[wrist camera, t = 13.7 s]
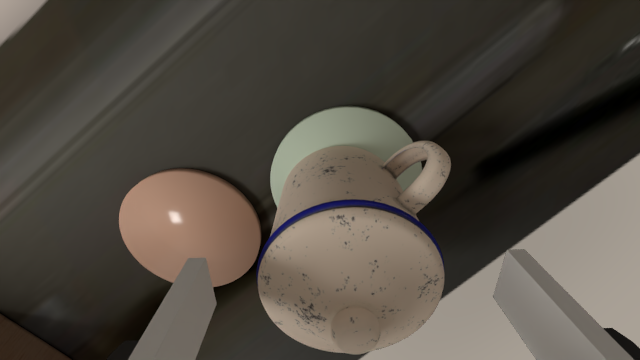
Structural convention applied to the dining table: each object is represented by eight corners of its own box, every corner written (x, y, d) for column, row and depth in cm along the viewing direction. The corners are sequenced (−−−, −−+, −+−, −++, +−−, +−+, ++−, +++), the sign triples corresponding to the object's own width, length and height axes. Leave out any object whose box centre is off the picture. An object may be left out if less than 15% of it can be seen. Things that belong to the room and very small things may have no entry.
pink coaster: (146, 282, 27) (141, 288, 26) (106, 169, 22) (98, 174, 22) (267, 280, 27) (266, 286, 26) (253, 166, 22) (250, 170, 21)
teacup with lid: (346, 266, 25) (363, 431, 14) (255, 206, 23) (196, 351, 12) (458, 162, 21) (596, 286, 10) (362, 77, 19) (415, 124, 8)
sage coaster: (278, 240, 25) (277, 246, 24) (264, 107, 20) (262, 110, 20) (410, 238, 25) (413, 244, 24) (428, 103, 20) (431, 105, 19)
